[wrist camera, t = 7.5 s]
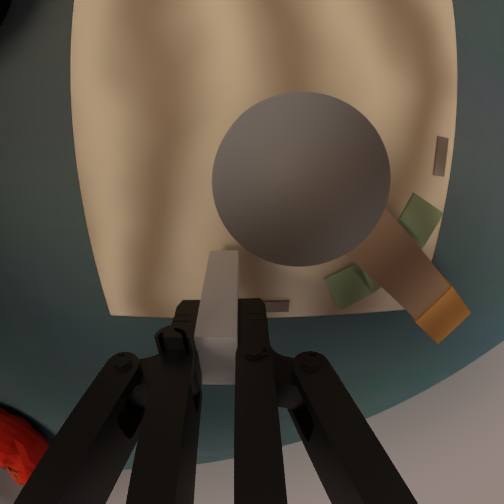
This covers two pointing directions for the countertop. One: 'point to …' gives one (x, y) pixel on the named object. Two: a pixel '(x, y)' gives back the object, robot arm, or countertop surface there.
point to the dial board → (222, 118)
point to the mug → (3, 9)
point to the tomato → (19, 446)
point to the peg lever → (325, 200)
